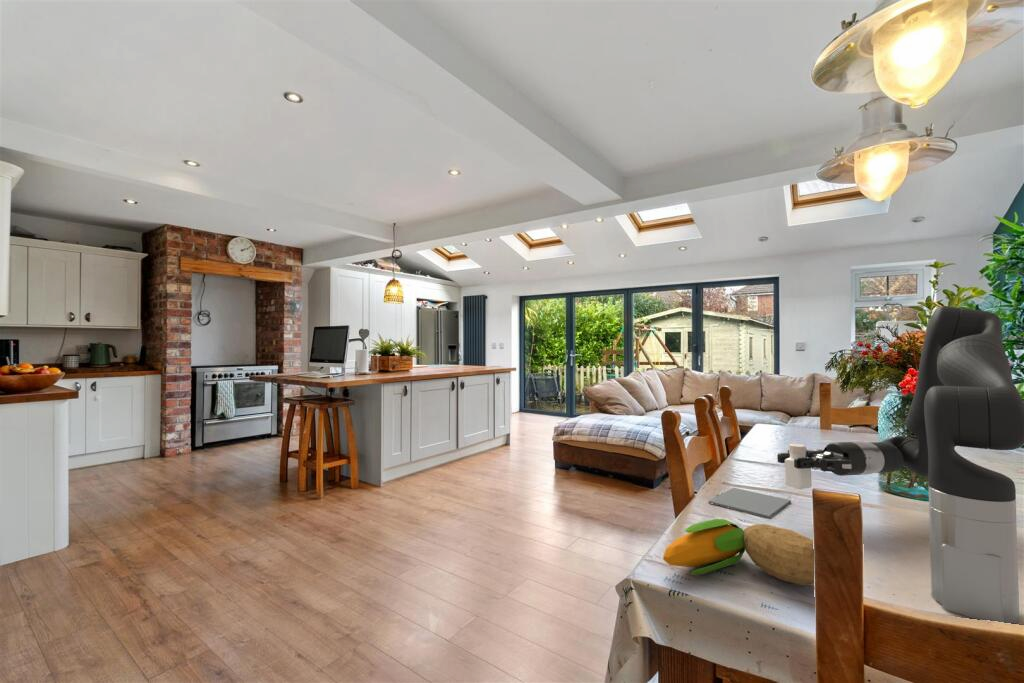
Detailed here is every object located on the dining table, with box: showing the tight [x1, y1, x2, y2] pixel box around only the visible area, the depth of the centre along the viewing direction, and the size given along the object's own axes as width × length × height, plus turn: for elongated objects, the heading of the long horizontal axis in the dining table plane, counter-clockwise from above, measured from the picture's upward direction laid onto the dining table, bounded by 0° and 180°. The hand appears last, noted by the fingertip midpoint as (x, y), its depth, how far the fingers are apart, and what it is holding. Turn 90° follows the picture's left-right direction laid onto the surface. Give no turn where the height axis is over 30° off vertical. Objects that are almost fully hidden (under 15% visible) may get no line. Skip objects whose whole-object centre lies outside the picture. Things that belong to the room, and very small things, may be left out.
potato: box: [743, 523, 815, 586], centre depth 75 cm, size 10×14×8 cm
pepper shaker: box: [784, 443, 813, 490], centre depth 101 cm, size 4×4×10 cm
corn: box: [662, 518, 746, 576], centre depth 79 cm, size 7×8×20 cm
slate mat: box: [708, 487, 792, 519], centre depth 112 cm, size 16×14×1 cm
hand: (787, 460), depth 101 cm, fingers closed on pepper shaker, 4 cm apart
